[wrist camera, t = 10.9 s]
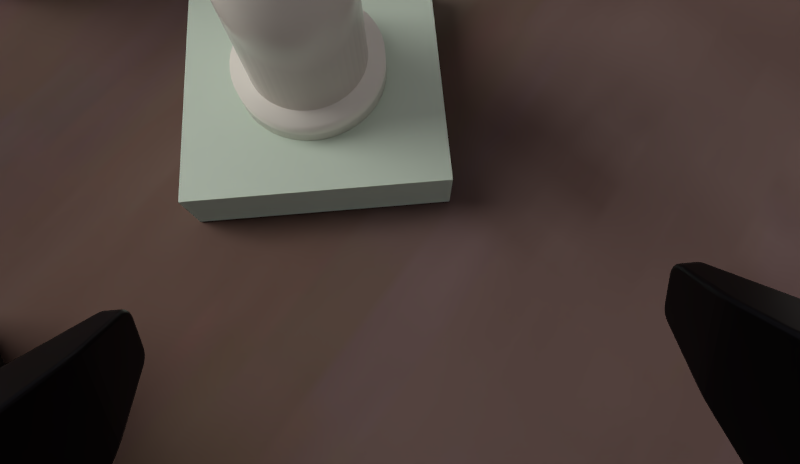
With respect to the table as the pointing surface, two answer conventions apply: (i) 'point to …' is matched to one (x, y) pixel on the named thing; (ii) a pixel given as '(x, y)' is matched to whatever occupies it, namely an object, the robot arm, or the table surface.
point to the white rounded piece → (304, 63)
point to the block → (319, 159)
